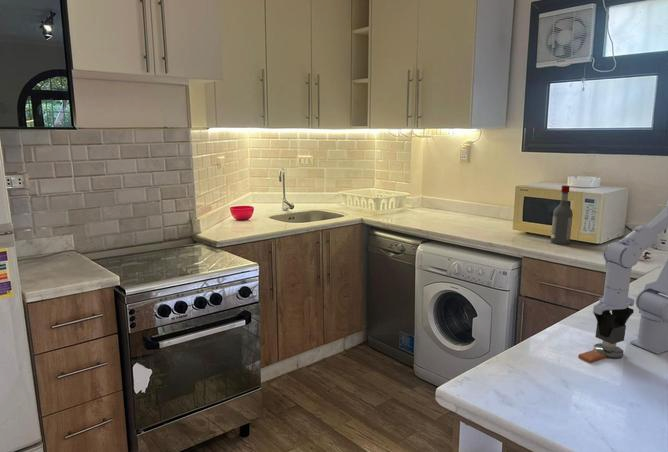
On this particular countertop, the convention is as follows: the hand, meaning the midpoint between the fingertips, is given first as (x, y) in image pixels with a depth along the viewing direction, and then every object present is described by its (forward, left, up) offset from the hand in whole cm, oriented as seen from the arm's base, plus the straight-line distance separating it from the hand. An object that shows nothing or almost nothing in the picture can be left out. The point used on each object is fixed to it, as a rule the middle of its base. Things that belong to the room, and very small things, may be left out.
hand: (610, 333), depth 136 cm
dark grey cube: (0, 0, -2) cm, 2 cm away
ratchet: (+3, 0, -6) cm, 7 cm away
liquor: (-95, -92, -6) cm, 133 cm away
